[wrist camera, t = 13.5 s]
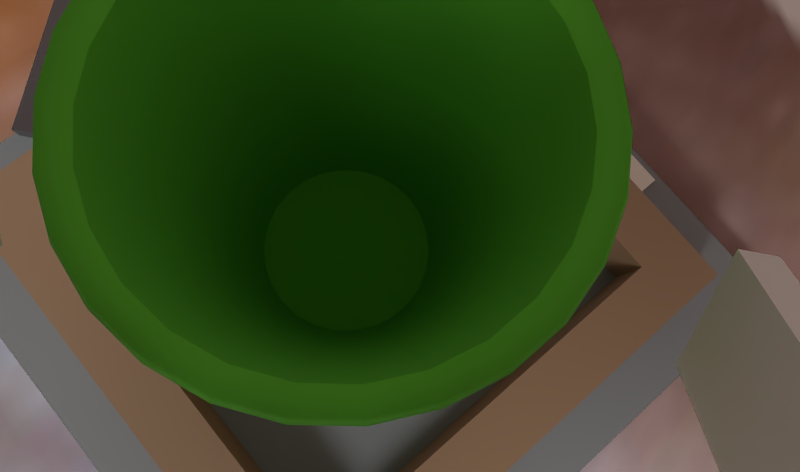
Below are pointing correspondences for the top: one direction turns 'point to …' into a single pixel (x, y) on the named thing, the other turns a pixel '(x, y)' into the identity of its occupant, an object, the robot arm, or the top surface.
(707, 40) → the top surface
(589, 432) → the socket board
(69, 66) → the cup
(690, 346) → the robot arm
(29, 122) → the dark grey u frame
